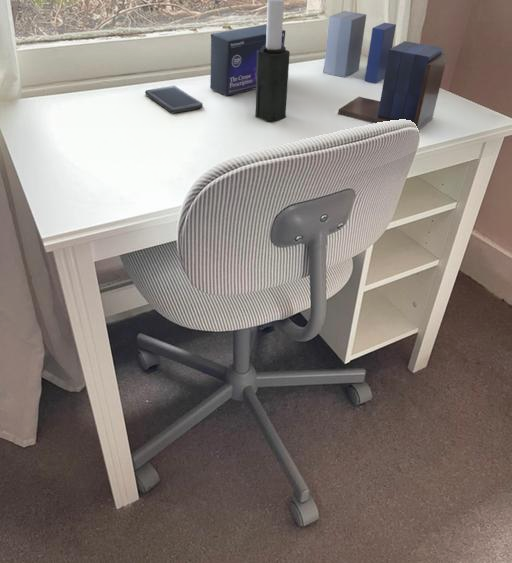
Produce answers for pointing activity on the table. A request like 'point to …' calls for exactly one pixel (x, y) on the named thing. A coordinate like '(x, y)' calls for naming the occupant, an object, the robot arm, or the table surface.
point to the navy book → (379, 51)
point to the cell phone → (173, 99)
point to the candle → (272, 68)
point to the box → (236, 58)
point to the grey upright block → (344, 43)
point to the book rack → (404, 86)
